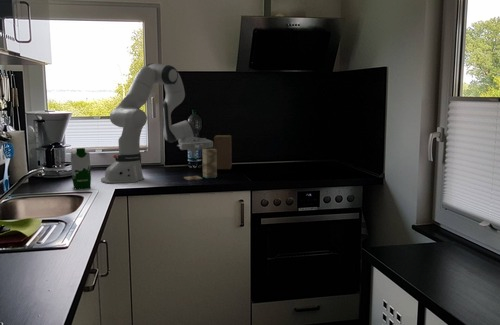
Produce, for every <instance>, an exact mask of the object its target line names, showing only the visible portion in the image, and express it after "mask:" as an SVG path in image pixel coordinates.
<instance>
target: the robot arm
mask: <svg viewBox="0 0 500 325" xmlns="http://www.w3.org/2000/svg"><path fill="white" fill-rule="evenodd" d="M155 84H158V85H163V86H164V92H165V98H164V100H163V102H162V105H161V106H162V109H161V110H162V111H161V113H162V126H163V129H162V134H163V138H164V140H165V141H166V142H168V143H172V144H173V143H174V142H178V144H177V145H176V147H178V148H179V149H180V150H181V151H185V150H187V151H188V152H193V153H194V152H197V151H200V150H202V149H213V148H214V140H210V139H207V138H206V137H196V135H195V134H196V131H195V127H194V125H193V124H192V123H191V121H189V120H187V119H185V120H183V121H179V122H177V123H174V124H172V117H171V115H172V112H173V111H174V109H175V108H177V107H178V106H179V105H180V104H182V103H183V102H184V99H185V97H186V92H185V87H184V83H183V80H182V77H181V75H180V73H179V72H178V70H177V69H176V67H175V66H172V65H168V64H164V63H163V64H162V63H148V64H146V65H144V66H141V68H140V69H139V70H138V71H137V72H136V74H135V76H134V78H133V80H132V82H131V84H130V86H129V89H128V91H127V93H126V95H125V96H124V97H123V99H122V100H121V101H120V103H119V104H118V105H117V106H116V107H115V108H114V109H112V110H111V112H110V114H109V121H110V122H111V123H112V125H115V127H118V128H122V131H121V135H120V137H119V138H118V142H117V143H118V154H116V153H114V154H113V155H112V157H113V158H114V159H115V161H114V162H113V163H111V164H110V165H108V167H106V170H105V173H104V177H101V179H100V181H101V182H102V183H103V184H118V183H119V184H120V183H121V184H123V183H137V182H138V181H141V180H144V175H143V169H142V164H141V163H142V155H141V152H140V151H141V150H140V149H141V148H140V146H141V144H140V140H141V134H142V132H143V131H142V130H143V128H144V127H145V125H146V124H147V121H148V117H147V114H146V112H145V111H144V110H142V109H141V108H142V107H143V106H144V105H146V104H147V102H148V99H149V97H150V94H151V93H152V90H153V88H154V85H155Z"/></svg>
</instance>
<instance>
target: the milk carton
mask: <svg viewBox="0 0 500 325" xmlns="http://www.w3.org/2000/svg"><path fill="white" fill-rule="evenodd" d="M90 154H91V153H90V152H89V151H86V148H84V147H81V148H80V147H79V148H77V147H76V151H71V152H70V167H71V179H72V185H73V188H74V189H75V190H86V189H91V187H92V186H91V185H92V184H91V183H92V172H91V171H92V170H91V157H90V156H91V155H90Z"/></svg>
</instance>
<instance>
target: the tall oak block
mask: <svg viewBox="0 0 500 325" xmlns="http://www.w3.org/2000/svg"><path fill="white" fill-rule="evenodd" d="M201 151H202V153H201V154H202V178H205V179H213V178H214V179H216V177H217V178H218V169H217V150H216V149H214V148H206V149H201Z"/></svg>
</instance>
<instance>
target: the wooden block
mask: <svg viewBox="0 0 500 325" xmlns="http://www.w3.org/2000/svg"><path fill="white" fill-rule="evenodd" d="M232 144H233V143H232V135H230V134H227V135H225V134H224V135H223V134H222V135H221V134H217V135H215V136H214V137H213V149H216V150H217V170H231V169H232V167H233V166H232V165H233V164H232V160H233V159H232V154H233V153H232V149H233V148H232Z"/></svg>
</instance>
